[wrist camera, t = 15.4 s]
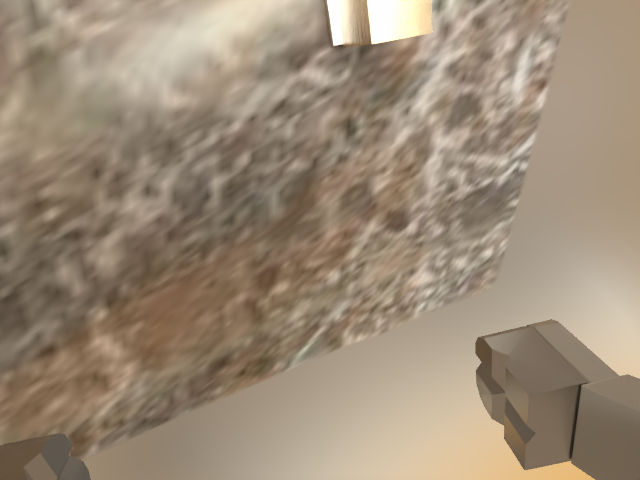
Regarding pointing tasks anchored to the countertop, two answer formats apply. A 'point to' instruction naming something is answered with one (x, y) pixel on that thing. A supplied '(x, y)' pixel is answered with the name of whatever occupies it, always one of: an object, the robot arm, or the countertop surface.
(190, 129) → the countertop surface
